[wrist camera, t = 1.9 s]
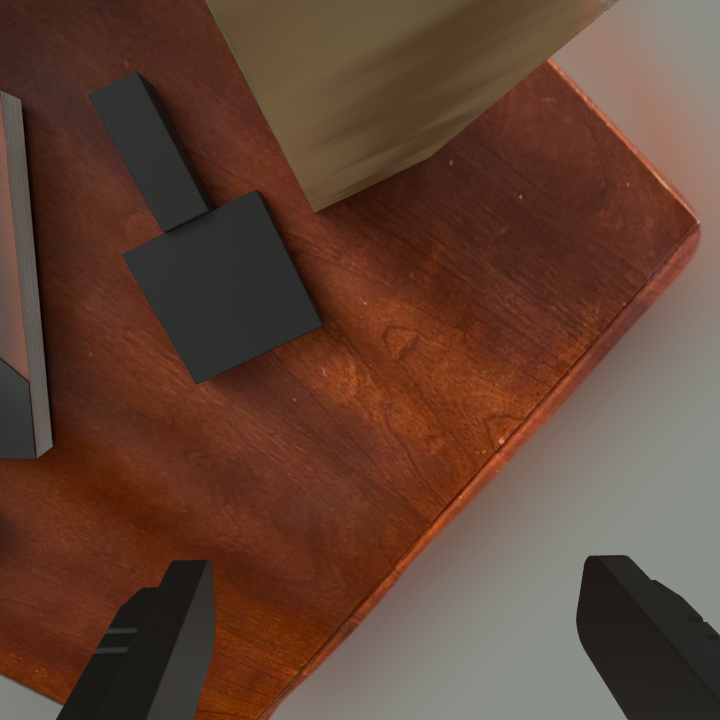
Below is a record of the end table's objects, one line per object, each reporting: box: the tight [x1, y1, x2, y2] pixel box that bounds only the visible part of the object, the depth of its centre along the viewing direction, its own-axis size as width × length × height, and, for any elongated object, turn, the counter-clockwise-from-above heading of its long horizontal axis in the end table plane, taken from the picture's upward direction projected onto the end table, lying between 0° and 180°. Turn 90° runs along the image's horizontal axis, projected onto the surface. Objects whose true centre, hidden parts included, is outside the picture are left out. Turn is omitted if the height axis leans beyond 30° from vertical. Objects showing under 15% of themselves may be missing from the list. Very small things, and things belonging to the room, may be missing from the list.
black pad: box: [89, 71, 323, 384], centre depth 30 cm, size 9×17×2 cm, turn 25°
